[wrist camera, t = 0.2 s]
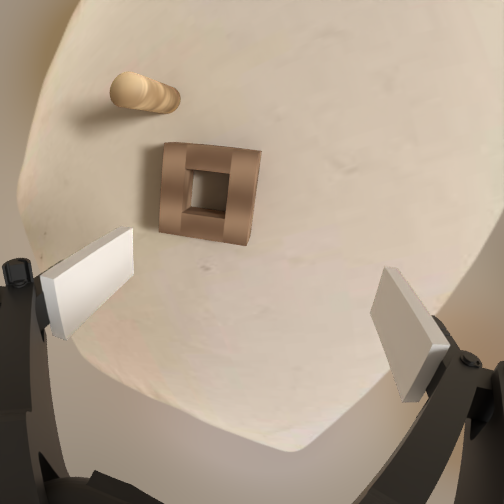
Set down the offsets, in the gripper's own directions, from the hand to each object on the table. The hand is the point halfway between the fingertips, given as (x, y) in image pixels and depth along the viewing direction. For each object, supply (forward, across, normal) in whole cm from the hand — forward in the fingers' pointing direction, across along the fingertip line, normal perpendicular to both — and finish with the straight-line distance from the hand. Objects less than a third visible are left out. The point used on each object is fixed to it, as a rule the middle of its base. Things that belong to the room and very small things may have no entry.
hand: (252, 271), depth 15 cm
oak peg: (+28, -17, +11) cm, 34 cm away
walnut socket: (+28, -9, -1) cm, 29 cm away
